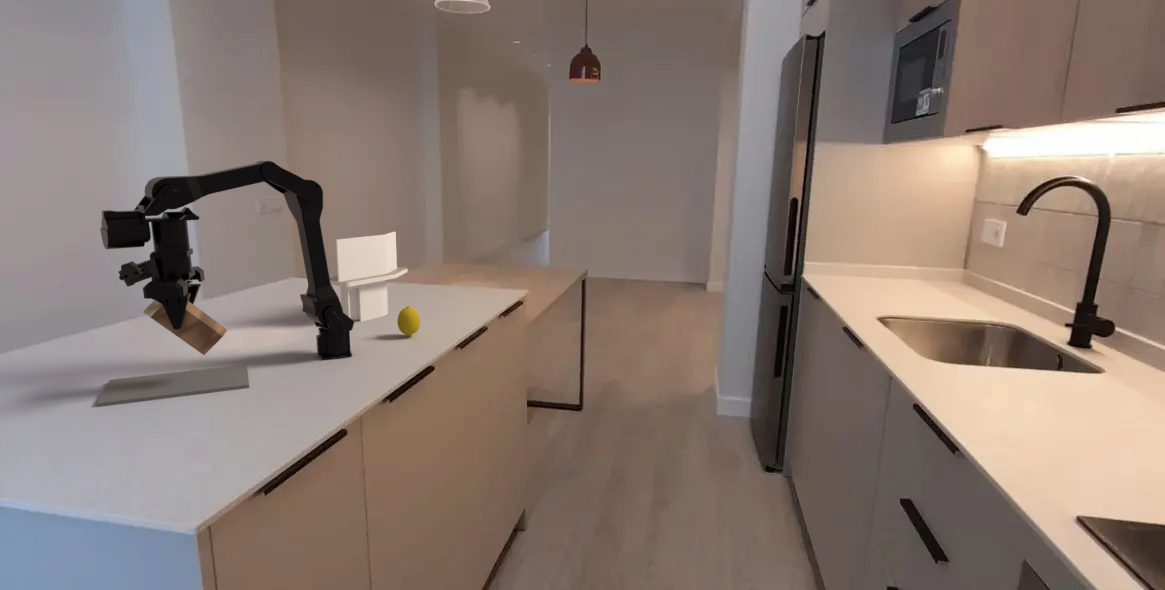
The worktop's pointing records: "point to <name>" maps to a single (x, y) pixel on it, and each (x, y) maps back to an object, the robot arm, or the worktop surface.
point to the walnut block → (190, 326)
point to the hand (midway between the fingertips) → (180, 325)
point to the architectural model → (366, 274)
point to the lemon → (408, 321)
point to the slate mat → (174, 385)
